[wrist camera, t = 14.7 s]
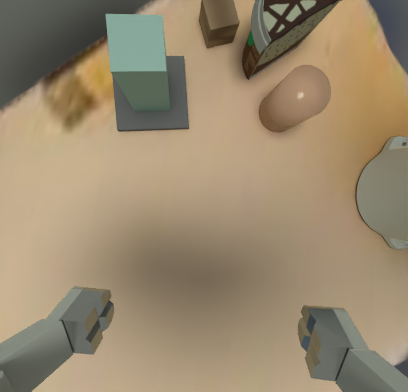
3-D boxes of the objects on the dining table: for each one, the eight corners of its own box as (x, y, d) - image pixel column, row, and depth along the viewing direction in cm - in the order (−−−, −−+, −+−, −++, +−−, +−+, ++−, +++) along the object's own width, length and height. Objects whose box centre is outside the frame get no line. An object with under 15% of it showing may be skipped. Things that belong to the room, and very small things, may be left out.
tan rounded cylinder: (294, 92, 34) (330, 64, 26) (296, 131, 35) (331, 115, 27) (257, 93, 34) (282, 65, 26) (259, 132, 34) (284, 117, 26)
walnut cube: (224, 15, 32) (231, -9, 29) (232, 42, 33) (239, 23, 29) (198, 20, 32) (201, -2, 28) (206, 48, 32) (210, 29, 28)
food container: (283, 6, 33) (328, -69, 23) (304, 42, 34) (356, -16, 24) (217, 49, 33) (235, -11, 23) (240, 85, 33) (266, 43, 23)
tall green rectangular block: (167, 73, 31) (162, 12, 20) (170, 110, 31) (166, 71, 20) (131, 73, 31) (105, 11, 20) (134, 111, 31) (110, 71, 20)
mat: (183, 59, 32) (183, 56, 31) (188, 128, 33) (188, 127, 32) (112, 59, 31) (110, 56, 30) (118, 131, 31) (117, 129, 31)
